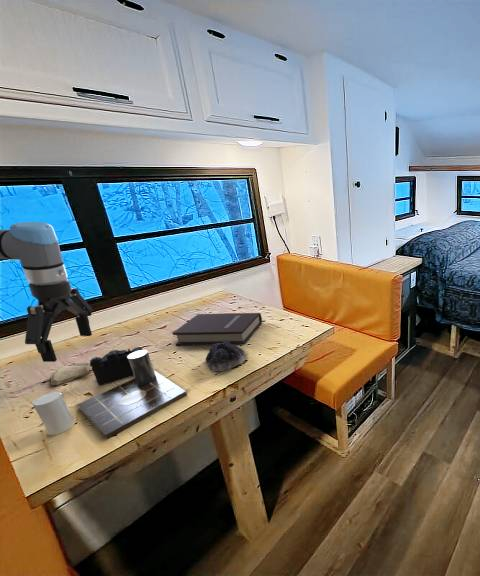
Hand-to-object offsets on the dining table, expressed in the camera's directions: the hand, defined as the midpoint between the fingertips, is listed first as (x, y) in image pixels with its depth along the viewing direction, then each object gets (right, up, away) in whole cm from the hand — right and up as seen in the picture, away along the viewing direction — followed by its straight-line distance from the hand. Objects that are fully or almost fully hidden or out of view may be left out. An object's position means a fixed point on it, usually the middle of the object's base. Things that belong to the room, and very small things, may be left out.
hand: (69, 347), depth 90 cm
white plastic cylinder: (+5, -21, -7) cm, 22 cm away
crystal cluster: (+36, -10, +21) cm, 43 cm away
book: (+23, -2, +42) cm, 48 cm away
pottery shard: (-15, -13, +16) cm, 25 cm away
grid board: (+17, -17, +2) cm, 24 cm away
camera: (+2, -12, +17) cm, 21 cm away
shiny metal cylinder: (+15, -13, +10) cm, 22 cm away
